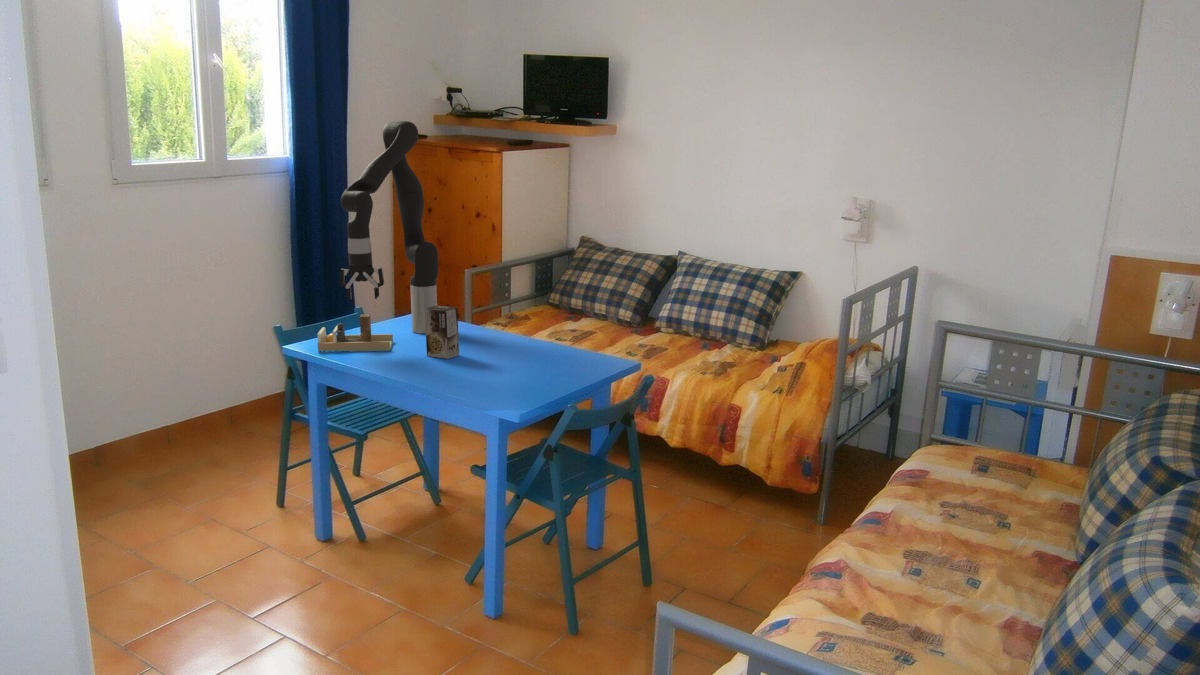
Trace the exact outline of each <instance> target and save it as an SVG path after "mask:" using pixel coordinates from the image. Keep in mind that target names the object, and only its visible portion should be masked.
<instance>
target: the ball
mask: <svg viewBox="0 0 1200 675" xmlns="http://www.w3.org/2000/svg"><path fill="white" fill-rule="evenodd" d="M336 337H337V342H338V336H337V334H336ZM327 342H328V343H330V342H333V332H331V333H329V334H328V336H327Z"/></svg>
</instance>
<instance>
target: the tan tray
mask: <svg viewBox="0 0 1200 675" xmlns="http://www.w3.org/2000/svg"><path fill="white" fill-rule="evenodd" d="M328 335H329V334H328ZM328 335H327V334H326V343H318V342H317V352H318V351H349V352H379V351H380V352H382V351H383V352H385V351H390V350H391V348H392V346H393V344H394V334H393V333H382V334H381V333H379V334H378V333H377V334H375V333H374V334H373V333H371V339H372V340H371V342H336V343H333V342H330V343H328V342H327V336H328ZM345 339H361V334H345Z"/></svg>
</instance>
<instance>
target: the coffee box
mask: <svg viewBox="0 0 1200 675" xmlns="http://www.w3.org/2000/svg"><path fill="white" fill-rule="evenodd" d="M425 328H426V333H425V341H426V342H425V344H426V346H425V347H426V356H427V357H433V358H440V359H447V360H450V359H452V358H455V357H458V356H460V347H459V318H458V307H455V306H448V305H447V306H444V305H438V304H437V305H435V306H432V307H429V308H426V309H425Z"/></svg>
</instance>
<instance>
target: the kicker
mask: <svg viewBox="0 0 1200 675" xmlns="http://www.w3.org/2000/svg"><path fill="white" fill-rule="evenodd" d="M371 322H372V321H371V313H362V314H360V316H359V330H360V331H359V332H360V335H361V339H345V335H346V333H345V332H346V331H345V325H344V323H342V322H340V323H338V324H337V325H336V326H337V327H338V329H339V330H338V331H337V333H336V335H337V336H338V342H371V340H372V339H371V334H372V325H371Z"/></svg>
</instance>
